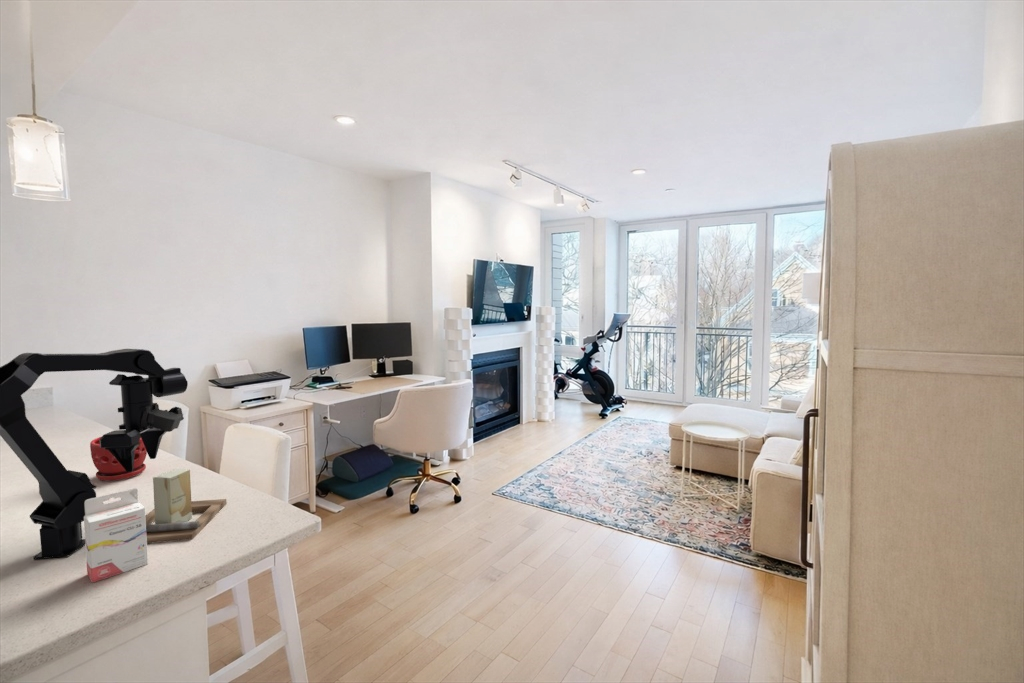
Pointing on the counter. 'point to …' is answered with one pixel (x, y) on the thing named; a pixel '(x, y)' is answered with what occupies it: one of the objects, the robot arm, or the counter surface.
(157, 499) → the skincare box
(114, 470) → the plant pot
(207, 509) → the shelf frame
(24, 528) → the counter surface
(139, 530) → the ink cartridge box
